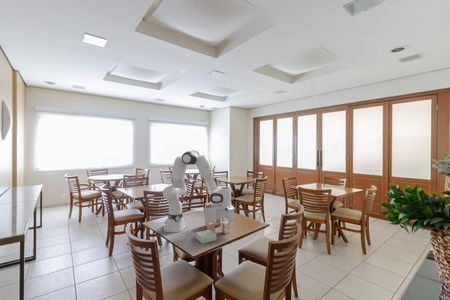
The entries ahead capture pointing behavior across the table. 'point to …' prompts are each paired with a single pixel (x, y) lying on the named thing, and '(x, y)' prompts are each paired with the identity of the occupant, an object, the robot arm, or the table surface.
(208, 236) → the sage pedestal block
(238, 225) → the table surface
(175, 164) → the robot arm
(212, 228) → the terracotta block
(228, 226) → the beech block
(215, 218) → the cracker box
